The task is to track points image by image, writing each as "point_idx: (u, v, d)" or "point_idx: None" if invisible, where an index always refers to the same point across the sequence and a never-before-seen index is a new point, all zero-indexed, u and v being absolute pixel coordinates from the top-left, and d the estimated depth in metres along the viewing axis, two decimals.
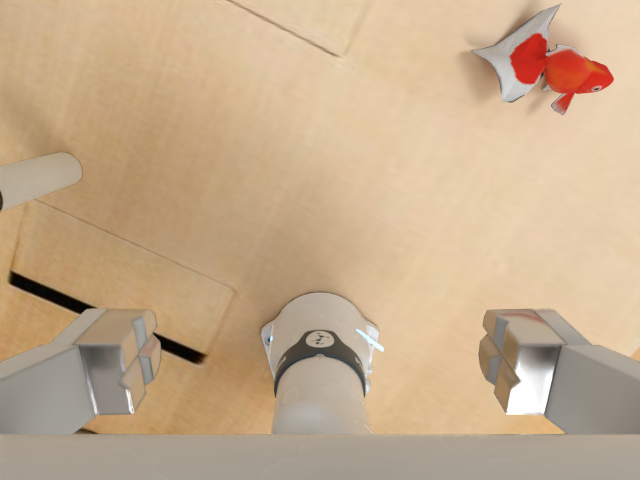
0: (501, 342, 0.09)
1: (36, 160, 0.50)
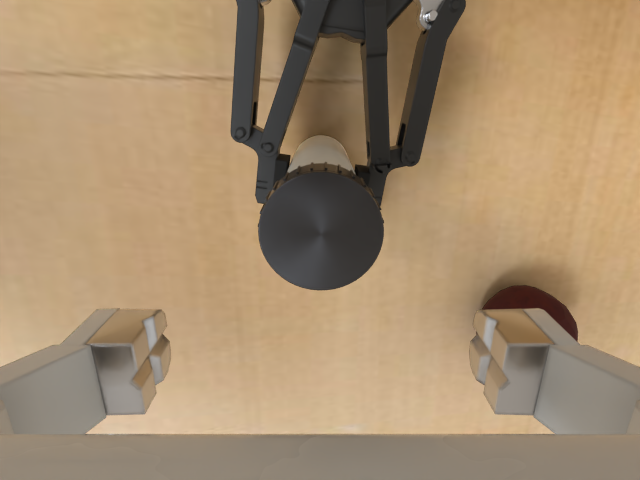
0: (490, 342, 0.09)
1: None
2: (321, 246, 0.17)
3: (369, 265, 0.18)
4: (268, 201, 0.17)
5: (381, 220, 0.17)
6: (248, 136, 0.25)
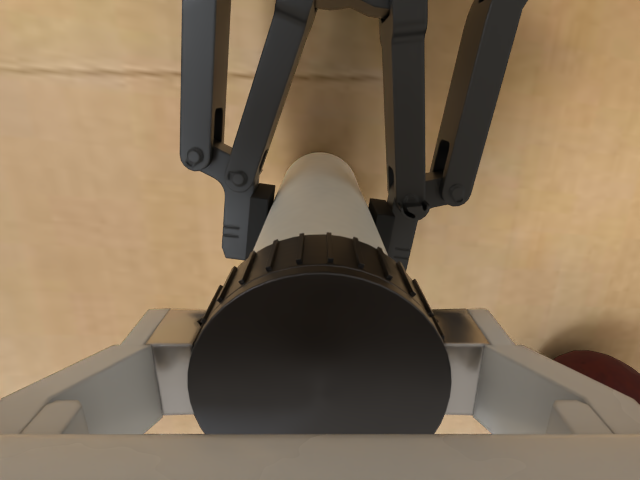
0: None
1: None
2: (320, 414, 0.08)
3: None
4: (205, 331, 0.08)
5: (448, 367, 0.08)
6: (207, 161, 0.16)
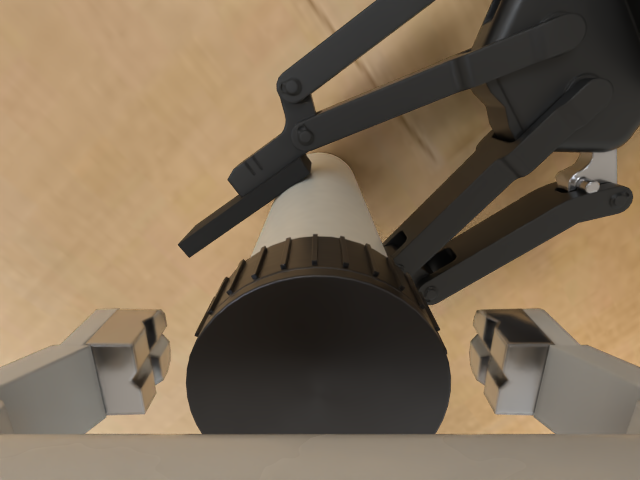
0: (491, 342, 0.09)
1: None
2: (328, 415, 0.08)
3: (437, 422, 0.08)
4: (190, 367, 0.08)
5: (434, 335, 0.08)
6: (296, 100, 0.16)
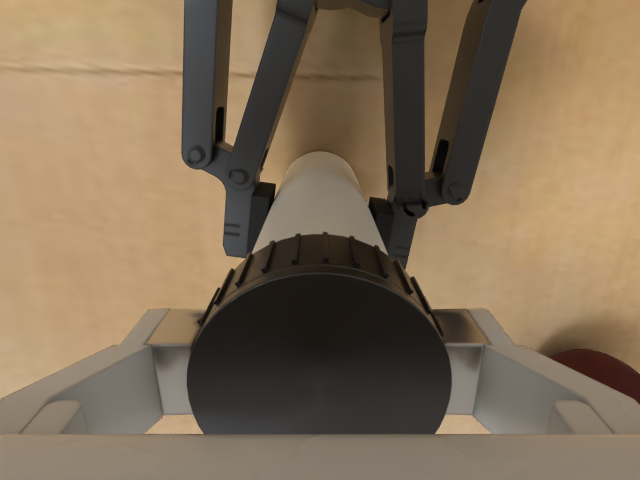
0: None
1: None
2: (344, 401, 0.08)
3: (433, 336, 0.08)
4: None
5: (345, 276, 0.07)
6: (208, 160, 0.17)
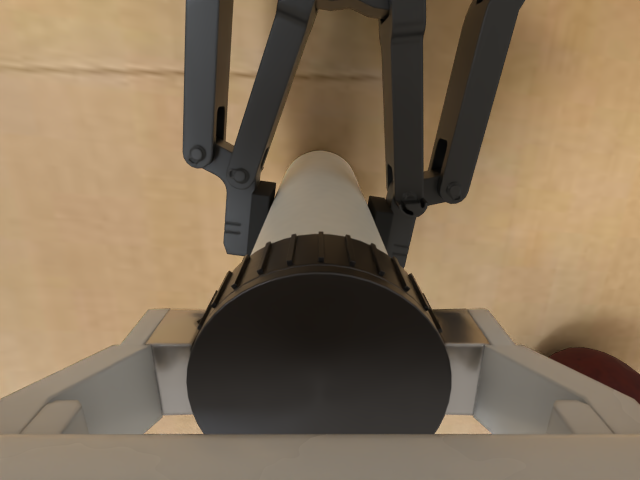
0: None
1: None
2: (338, 377, 0.08)
3: (298, 279, 0.07)
4: None
5: (204, 329, 0.08)
6: (209, 159, 0.17)
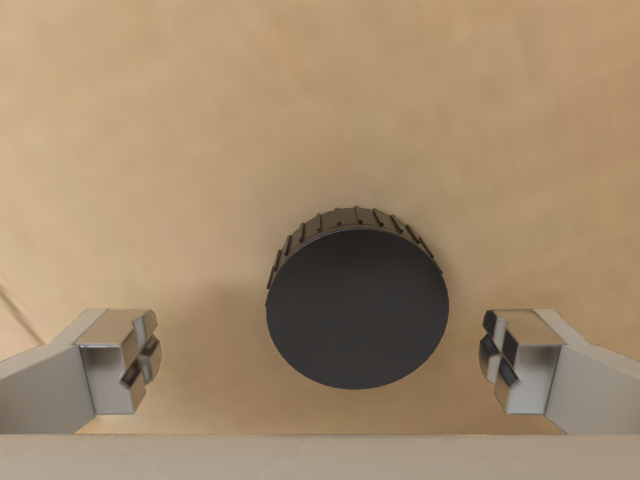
0: (501, 342, 0.09)
1: None
2: (371, 303, 0.12)
3: (347, 233, 0.11)
4: (367, 387, 0.13)
5: (281, 268, 0.11)
6: None
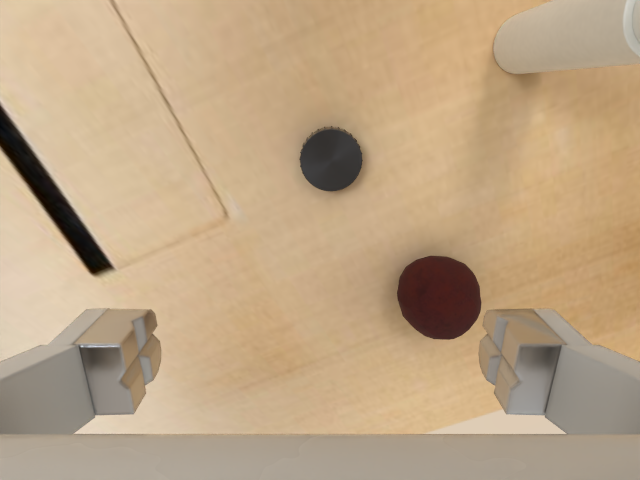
0: (501, 342, 0.09)
1: (533, 53, 0.28)
2: (335, 156, 0.35)
3: (327, 130, 0.34)
4: (335, 190, 0.36)
5: (306, 143, 0.34)
6: None
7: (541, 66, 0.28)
